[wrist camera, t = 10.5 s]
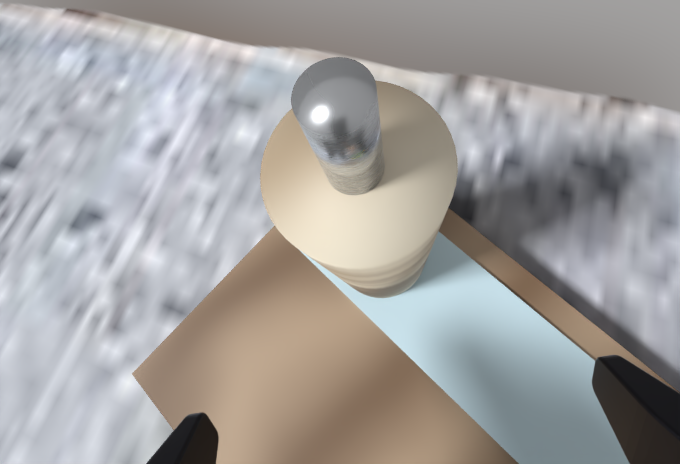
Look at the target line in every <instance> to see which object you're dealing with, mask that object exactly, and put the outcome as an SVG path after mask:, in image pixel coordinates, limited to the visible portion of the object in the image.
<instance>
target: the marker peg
mask: <svg viewBox="0 0 680 464" xmlns="http://www.w3.org/2000/svg"><path fill="white" fill-rule="evenodd" d="M291 105H292V109H291V110H290V111H289V112H288V113H287V114H286V115H285V116H284V117H283V118H282V120H281V121H280V122H279V124H278V125H277V127H276V128H275V129H274V131H273V133H272V135H271V137H270V139H269V141H268V143H267V146H266V148H265V151H264V155H263V159H262V163H261V173H260V180H261V191H262V197H263V201H264V204H265V207H266V210H267V212H268V214H269V216H270V218H271V220H272V222H273V223H274V225H275V226H276V228H277V229H278V231H279V232H280V233H281V234H282V235H283V236H284V237H285V238H286V239H287V240H288V241H289V242H290V243H291V244H292V245H294V246H295V247H296V248H298V249H299V250H300V251H302V252H303V253H305V254H306V255H307V256H309V257H310V258H312V259H313V260H314V261H316V262H317V263H319V264H320V265H321V266H323V267H324V268H326V269H327V270H328V271H330V272H331V273H333V274H334V275H335V276H337V277H338V278H340V279H341V280H343V281H344V282H345V283H347V284H348V285H350V286H351V287H352V288H354V289H355V290H357V291H358V292H360V293H362V294H364V295H367V296H370V297H374V298H389V297H393V296H396V295H399V294H401V293H403V292H405V291H406V290H408V289H409V288H410V287H411V286H412V285H413V284H414V283H415V282H416V281H417V280H418V278H419V276H420V275H421V273H422V270H423V268H424V265H425V263H426V261H427V258H428V256H429V253H430V251H431V248H432V246H433V244H434V241H435V239H436V236H437V234H438V231H439V229H440V227H441V224H442V222H443V219H444V217H445V214H446V212H447V210H448V207H449V205H450V202H451V200H452V197H453V194H454V190H455V186H456V180H457V172H458V170H457V155H456V149H455V145H454V142H453V139H452V136H451V134H450V132H449V130H448V128H447V126H446V124H445V122H444V121H443V119H442V118H441V117H440V115H439V114H438V113H437V112H436V111H435V110H434V108H433V107H432V106H431V105H430V104H428V103H427V102H426V101H425V100H424V99H422V98H421V97H419V96H418V95H416V94H415V93H413V92H411V91H409V90H407V89H405V88H403V87H400V86H397V85H394V84H391V83H387V82H381V81H375V79H374V77H373V75H372V74H371V72H370V71H369V70H368V69H367V68H366V67H365V66H364V65H363V64H361V63H359V62H357V61H355V60H352V59H349V58H342V57H336V58H328V59H325V60H322V61H319V62H317V63H315V64H313V65H312V66H310V67H309V68H307V69H306V70H305V71H304V72H303V73H302V74H301V76H300V77H299V78H298V80H297V81H296V83H295V85H294V88H293V91H292V97H291Z"/></svg>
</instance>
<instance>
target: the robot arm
mask: <svg viewBox="0 0 680 464" xmlns="http://www.w3.org/2000/svg"><path fill="white" fill-rule="evenodd" d="M592 387H593V390H594V393H595V395H596V397H597V399H598V401H599V403H600V405H601V407H602V409H603V411H604V413H605V415H606V417H607V419H608V421H609V423H610V425H611V427H612V429H613V431H614V433H615V435H616V438H617V440H618V442H619V444H620V446H621V448H622V450H623V452H624V454H625V456H626V458H627V460H628V461H629V463H630V464H680V393H679V392H677V391H676V390H674V389H672V388H671V387H669V386H668V385H666V384H665V383H663V382H661V381H660V380H658V379H657V378H655V377H653V376H652V375H650V374H649V373H647V372H645V371H644V370H642V369H641V368H639V367H637V366H636V365H634V364H633V363H631V362H630V361H628V360H626V359H625V358H623V357H621V356H619V355H608V356H601V357H598V358H597V359H596V360H595V365H594V371H593V376H592ZM218 443H219V436H218V432H217V429H216V428H215V426H214V425H213V423H212V422H211V420H210V419H209V417H208V415H207V414H206V413H204V412H200V413H193V414H189V415H187V416H186V417H185V418H184V419H183V420H182V421H181V423H180V424H179V425H178V426H177V427H176V429H175V430H174V431H173V432H172V433H171V435H170V436H169V437H168V438H167V439H166V441H165V442H164V443H163V444H162V445H161V447H160V448H159V449H158V450H157V451H156V453H155V454H154V455H153V456H152V457H151V459H150V460H149V461H148V462H147V463H146V464H216V459H217V451H218Z"/></svg>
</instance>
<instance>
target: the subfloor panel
mask: <svg viewBox="0 0 680 464" xmlns="http://www.w3.org/2000/svg"><path fill="white" fill-rule="evenodd" d="M608 355H619V356H621V357H623V358H625V359H626V360H628V361H630V362H631V363H633V364H634V365H636V366H637V367H639V368H641V369H642V370H644V371H645V372H647V373H649V374H650V375H652V376H653V377H655V378H657V379H658V380H660V381H661V382H663V383H665V384H666V385H668V386H669V387H671V388H672V389H674V390H676V389H675V388H673V387H672V386H671V385H670V384H668V383H667V382H666V381H665V380H663V379H662V378H661V377H660V376H658V375H657V374H656V373H655V372H653V371H652V370H651V369H650V368H648V367H647V366H646V365H645V364H643V363H642V362H641V361H640V360H638V359H637V358H636V357H635V356H633V355H632V354H631V353H630V352H628V351H627V350H626V349H625V348H623V347H622V346H621V345H620V344H618V343H617V342H616V341H615V340H613V339H612V338H611V337H610V336H608V335H607V334H606V333H605V332H603V331H602V330H601V329H600V328H598V327H597V326H596V325H595V324H593V323H592V322H591V321H590V320H588V319H587V318H586V317H585V316H583V315H582V314H581V313H580V312H578V311H577V310H576V309H575V308H573V307H572V306H571V305H570V304H568V303H567V302H566V301H565V300H563V299H562V298H561V297H559V296H558V295H557V294H556V293H554V292H553V291H552V290H551V289H549V288H548V287H547V286H546V285H544V284H543V283H542V282H541V281H539V280H538V279H537V278H536V277H534V276H533V275H532V274H531V273H529V272H528V271H527V270H526V269H524V268H523V267H522V266H521V265H519V264H518V263H517V262H516V261H514V260H513V259H512V258H511V257H509V256H508V255H507V254H506V253H504V252H503V251H502V250H501V249H499V248H498V247H497V246H496V245H494V244H493V243H492V242H491V241H489V240H488V239H487V238H486V237H484V236H483V235H482V234H481V233H479V232H478V231H477V230H476V229H474V228H473V227H472V226H471V225H469V224H468V223H467V222H466V221H464V220H463V219H462V218H461V217H459V216H458V215H457V214H456V213H454V212H453V211H452V210H451V209H449V208H448V210H447V212H446V214H445V217H444V219H443V222H442V224H441V227H440V229H439V231H438V234H437V236H436V239H435V241H434V244H433V246H432V248H431V251H430V253H429V256H428V258H427V261H426V263H425V265H424V268H423V270H422V273H421V275H420V276H419V278H418V280H417V281H416V282H415V283H414V284H413V285H412V286H411V287H410V288H409V289H408V290H406V291H405V292H403V293H401V294H399V295H396V296H393V297H389V298H374V297H370V296H367V295H364V294H362V293H360V292H358V291H357V290H355V289H354V288H352V287H351V286H350V285H348V284H347V283H345V282H344V281H343V280H341V279H340V278H338V277H337V276H335V275H334V274H333V273H331V272H330V271H328V270H327V269H326V268H324V267H323V266H321V265H320V264H319V263H317V262H316V261H314V260H313V259H312V258H310V257H309V256H307V255H306V254H305V253H303V252H302V251H300V250H299V249H298V248H296V247H295V246H294V245H292V244H291V243H290V242H289V241H288V240H287V239H286V238H285V237H284V236H283V235H282V234H281V233H280V232H279V231H278V229H277V228H276V226H274V227H273V228H272V229H271V230H270V231H269V232H268V233H267V234H266V235H265V236H264V237H263V238H262V239H261V240H260V241H259V242H258V244H257V245H256V246H255V247H254V248H253V249H252V250H251V251H250V252H249V253H248V254H247V255H246V256H245V257H244V258H243V259H242V260H241V261H240V262H239V263H238V264H237V265H236V266H235V267H234V268H233V269H232V271H231V272H230V273H229V274H228V275H227V276H226V277H225V278H224V279H223V280H222V281H221V282H220V283H219V284H218V285H217V286H216V287H215V288H214V289H213V290H212V291H211V292H210V293H209V294H208V295H207V296H206V298H205V299H204V300H203V301H202V302H201V303H200V304H199V305H198V306H197V307H196V308H195V309H194V310H193V311H192V312H191V313H190V314H189V315H188V316H187V317H186V318H185V319H184V320H183V321H182V322H181V323H180V325H179V326H178V327H177V328H176V329H175V330H174V331H173V332H172V333H171V334H170V335H169V336H168V337H167V338H166V339H165V340H164V341H163V342H162V343H161V344H160V345H159V346H158V347H157V348H156V349H155V350H154V352H153V353H152V354H151V355H150V356H149V357H148V358H147V359H146V360H145V361H144V362H143V363H142V364H141V365H140V366H139V367H138V368H137V369H136V370H135V371H134V372H133V373H132V375H133V376H134V377H135V379H136V380H137V381H138V383H139V384H140V385H141V387H142V388H143V389H144V391H145V392H146V394H147V395H148V396H149V398H150V399H151V400H152V402H153V403H154V404H155V406H156V407H157V408H158V410H159V411H160V412H161V414H162V415H163V416H164V418H165V419H166V420H167V422H168V423H169V424H170V426H171V427H172V429H173V430H175V429H176V427H177V426H178V425H179V424H180V423H181V421H182V420H183V419H184V418H185V417H186V416H187V415H189V414H193V413H200V412H204V413H206V414H207V415H208V417H209V419H210V420H211V422H212V423H213V425H214V426H215V428H216V429H217V432H218V436H219V443H218V451H217V459H216V464H630V463H629V461H628V460H627V458H626V456H625V454H624V452H623V450H622V448H621V446H620V444H619V442H618V440H617V438H616V435H615V433H614V431H613V429H612V427H611V425H610V423H609V421H608V419H607V417H606V415H605V413H604V411H603V409H602V407H601V405H600V403H599V401H598V399H597V397H596V395H595V393H594V390H593V387H592V376H593V371H594V365H595V360H596V359H597V358H598V357H601V356H608ZM676 391H677V390H676ZM677 392H678V391H677ZM679 393H680V392H679Z"/></svg>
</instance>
